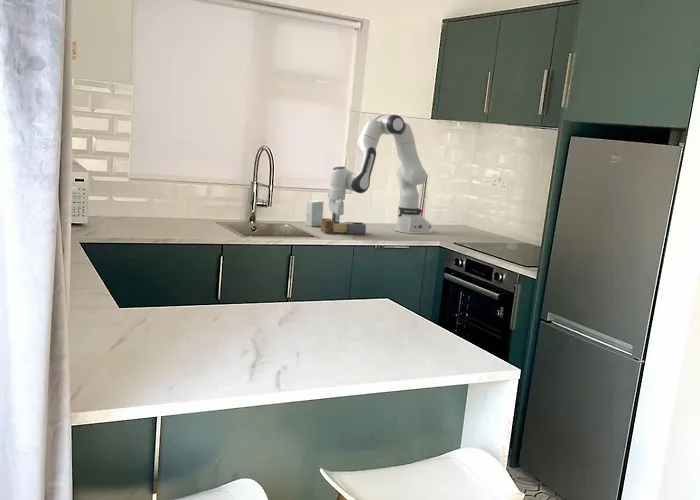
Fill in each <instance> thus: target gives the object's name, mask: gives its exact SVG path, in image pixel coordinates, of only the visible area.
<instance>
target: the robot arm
mask: <svg viewBox="0 0 700 500" xmlns="http://www.w3.org/2000/svg"><path fill="white" fill-rule="evenodd" d="M383 135H388V136H389V135H392V136H393V138H394V142H395V147H396V148H395V149H396V153H397V157H398V159H399V160H400V162H401V165H400V166H398V167H397V170H396V177H397V179H398V185H399V206H398V207H397V208H398V209H397V220H396V221H397V222H396V225H395V227H394V231H396V232H400V233H406V234H409V235H410V234H411V235H412V234H414V235H415V234H417V235H420V234H422V235H423V234H425V235H426V234H431V235H432V234H433V230H432V229H430V223H429V221H428V220H427V219H426V218H425V217H424V216H423V215H422V214H423V213H424V212H425V211H424V210H423V209H422V208H421V209H420V208H419V201H420V193H419V190H418V186H420V185H422V184H424V183H425V182H426V180H427V177H428V175H427V172H426V170H425V169H424V167H423V165H422V162H421V159H420V156H419V155H418V151H417V146H416V141H415V136H414V134H413V130H412V127H411V125H410V124H409V123H408V122H405V120H404V118H403V117H402V116H400V115H398V114H385V115H384V114H383V115H382V114H381V115H379V116H377V117H376V118H374V119H368V120H367V121H366V123H365V124H364V125H363V128H362V129H361V132H360V133H359V136H358V139H357V143H356V147H357V150H358V151H359V153H361V154H362V156H363V161H362V164H361V167H360V171H359V173H355V172H352V171H350V170H348V168H346V167H345V166H335V167H333V168H332V170H331V173H330V179H329V180H330V181H329V182H330V188H329V193H328V194H327V196H328V207H329V211H331V213H332V214H336V218H335V221H336V222H340V218H341V217H340V216H343V215H344V211H345V202H344V201H345V200H346V192H347V191H351V192H355V193H357V194H363V193H366V192H367V191H368V189H369V187H370V185H371V176H372V175H371V174H372V172H373V169H374V165H375V161H376V157H377V147H378V144H379V142H380V138H381V136H383Z"/></svg>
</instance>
